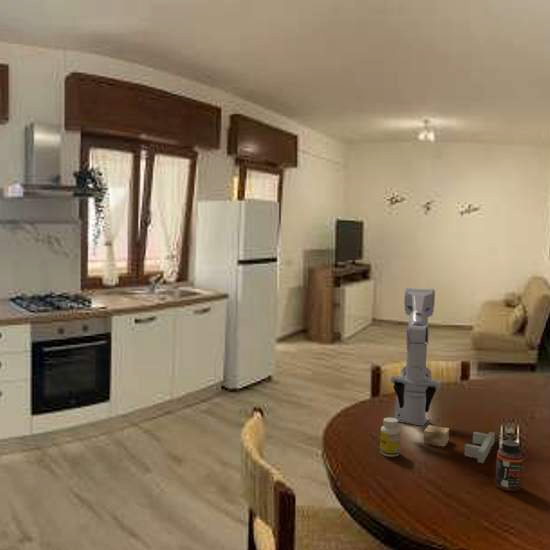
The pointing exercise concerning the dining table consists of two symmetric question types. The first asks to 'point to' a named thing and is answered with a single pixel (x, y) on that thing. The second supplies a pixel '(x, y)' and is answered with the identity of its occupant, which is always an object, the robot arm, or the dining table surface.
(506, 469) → the supplement bottle
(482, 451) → the bracket
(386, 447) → the supplement bottle
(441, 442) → the maple block
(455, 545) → the dining table surface
